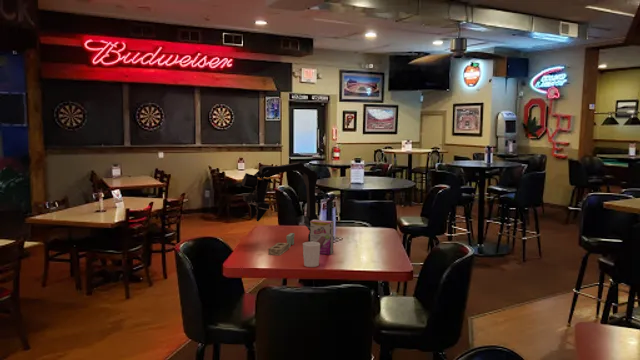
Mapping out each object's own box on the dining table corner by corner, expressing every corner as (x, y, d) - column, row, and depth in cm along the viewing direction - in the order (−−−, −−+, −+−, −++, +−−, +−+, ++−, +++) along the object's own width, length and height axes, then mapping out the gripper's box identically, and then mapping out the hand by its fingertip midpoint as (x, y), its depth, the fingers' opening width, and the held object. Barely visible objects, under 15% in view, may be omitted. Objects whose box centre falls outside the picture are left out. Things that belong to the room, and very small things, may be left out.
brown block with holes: (289, 248, 250) (289, 243, 250) (279, 255, 237) (279, 249, 236) (278, 248, 252) (278, 242, 251) (268, 254, 238) (268, 248, 238)
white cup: (302, 263, 224) (302, 241, 223) (319, 262, 224) (319, 241, 223) (303, 267, 216) (303, 245, 215) (320, 267, 217) (320, 245, 216)
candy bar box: (309, 253, 241) (309, 221, 239) (312, 251, 246) (312, 219, 244) (330, 255, 237) (330, 222, 236) (333, 253, 242) (333, 220, 240)
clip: (294, 244, 261) (294, 233, 260) (290, 247, 253) (290, 236, 253) (291, 243, 261) (290, 232, 261) (286, 247, 254) (286, 235, 253)
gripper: (241, 185, 253) (234, 214, 253) (252, 189, 236) (245, 220, 236) (261, 189, 258) (254, 217, 258) (273, 193, 241) (266, 223, 241)
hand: (254, 219), depth 248 cm, fingers open, 9 cm apart
